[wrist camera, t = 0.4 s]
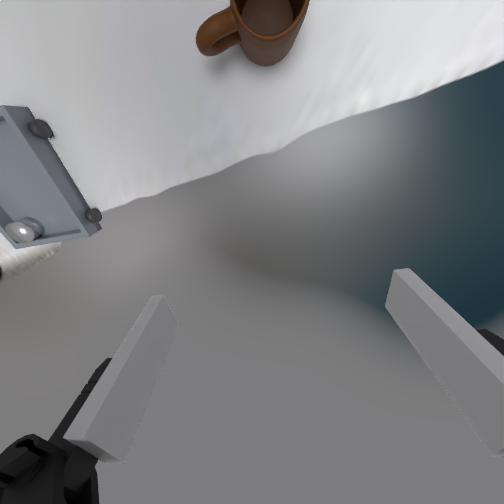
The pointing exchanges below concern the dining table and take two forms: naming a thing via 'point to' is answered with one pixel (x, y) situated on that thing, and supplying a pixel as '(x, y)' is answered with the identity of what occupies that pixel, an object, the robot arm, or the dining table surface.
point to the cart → (38, 182)
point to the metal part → (25, 229)
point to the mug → (254, 29)
